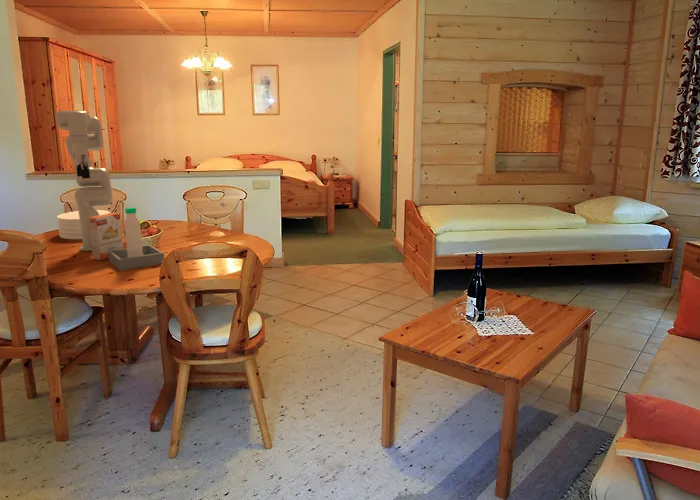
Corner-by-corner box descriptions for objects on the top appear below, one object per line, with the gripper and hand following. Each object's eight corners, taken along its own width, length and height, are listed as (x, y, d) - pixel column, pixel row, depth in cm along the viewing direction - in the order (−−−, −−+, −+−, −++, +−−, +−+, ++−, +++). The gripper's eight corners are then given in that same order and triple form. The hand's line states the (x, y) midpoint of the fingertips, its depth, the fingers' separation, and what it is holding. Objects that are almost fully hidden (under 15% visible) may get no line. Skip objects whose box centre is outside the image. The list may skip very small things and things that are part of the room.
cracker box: (101, 261, 273) (96, 218, 268) (92, 259, 276) (87, 217, 271) (124, 254, 285) (120, 213, 280) (116, 252, 288) (111, 212, 283)
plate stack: (49, 235, 328) (46, 215, 325) (94, 226, 350) (92, 208, 347) (77, 241, 313) (75, 221, 310) (122, 232, 335) (120, 212, 332)
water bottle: (130, 258, 274) (124, 206, 268) (145, 257, 275) (140, 206, 268) (126, 262, 267) (120, 209, 261) (141, 261, 268) (136, 209, 262)
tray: (109, 261, 273) (107, 250, 272) (151, 254, 285) (150, 244, 283) (120, 270, 258) (119, 259, 256) (164, 263, 269) (163, 252, 268)
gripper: (66, 138, 262) (70, 176, 267) (74, 140, 249) (79, 179, 253) (83, 138, 267) (88, 174, 271) (92, 139, 253) (97, 178, 257)
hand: (83, 177), depth 262 cm, fingers open, 9 cm apart
